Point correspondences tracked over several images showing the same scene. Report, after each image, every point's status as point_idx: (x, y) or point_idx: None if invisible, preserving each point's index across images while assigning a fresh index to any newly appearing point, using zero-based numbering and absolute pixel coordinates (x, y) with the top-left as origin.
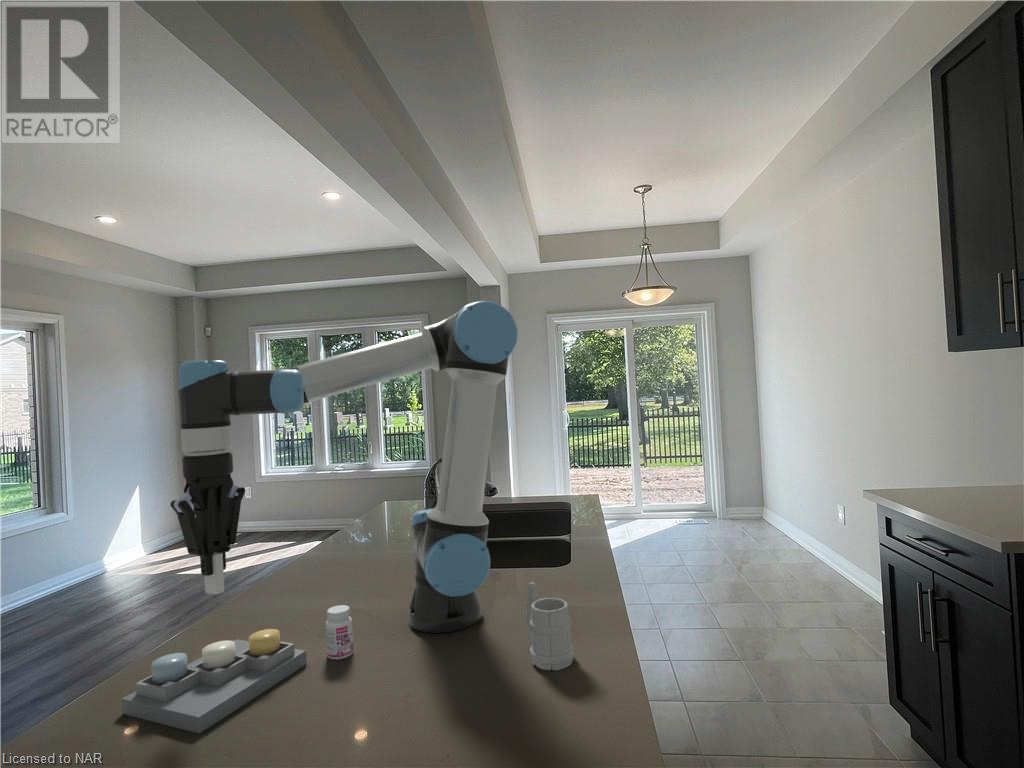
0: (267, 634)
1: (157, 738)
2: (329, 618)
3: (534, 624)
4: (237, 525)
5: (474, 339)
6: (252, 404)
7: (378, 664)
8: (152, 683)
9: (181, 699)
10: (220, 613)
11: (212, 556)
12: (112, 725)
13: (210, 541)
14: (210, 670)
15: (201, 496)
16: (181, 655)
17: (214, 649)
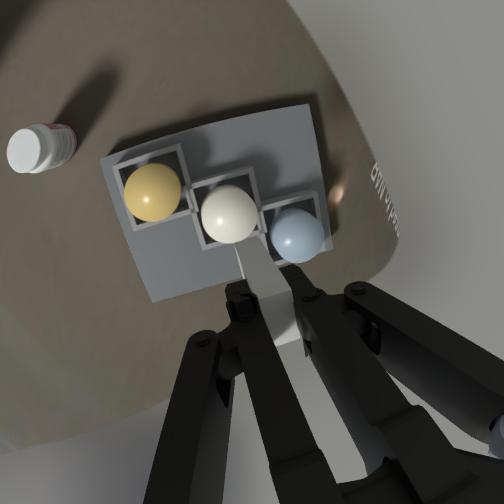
0: (146, 190)
1: (331, 144)
2: (45, 145)
3: None
4: (173, 397)
5: None
6: None
7: (53, 67)
8: None
9: (297, 173)
10: (130, 410)
11: (292, 298)
12: (341, 224)
13: (329, 322)
14: None
15: (496, 484)
16: (282, 239)
17: (239, 213)
